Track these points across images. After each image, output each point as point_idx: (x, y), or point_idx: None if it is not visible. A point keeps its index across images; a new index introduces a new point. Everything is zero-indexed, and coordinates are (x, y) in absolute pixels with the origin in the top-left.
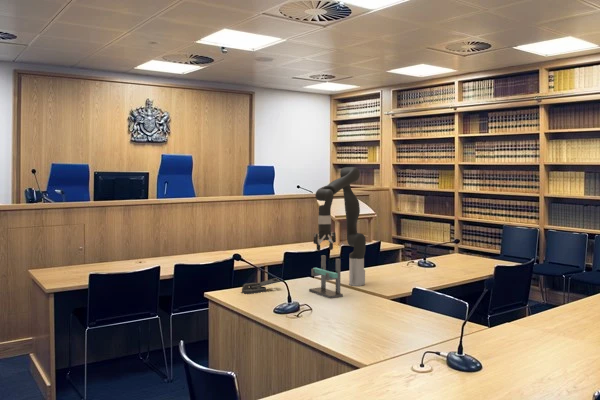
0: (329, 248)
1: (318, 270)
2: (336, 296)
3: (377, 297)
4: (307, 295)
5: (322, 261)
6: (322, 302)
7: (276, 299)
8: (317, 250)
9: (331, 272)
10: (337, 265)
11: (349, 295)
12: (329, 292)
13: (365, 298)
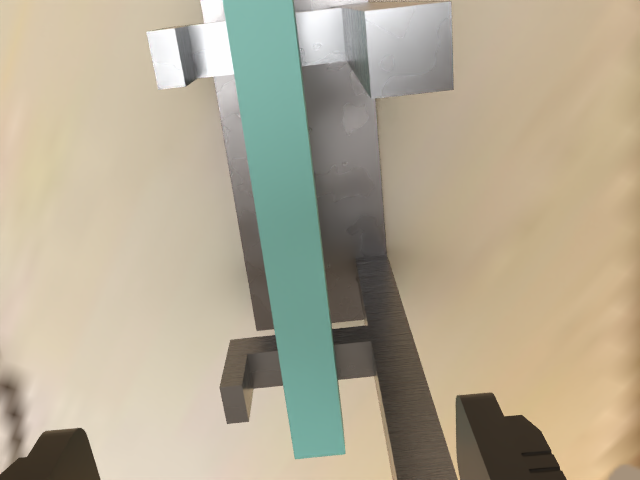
0: (464, 413)
1: (242, 116)
2: None
3: (607, 422)
4: (117, 137)
5: (358, 60)
6: (150, 391)
7: None
8: (46, 439)
9: (308, 380)
10: (391, 468)
11: (463, 290)
12: None
13: (509, 413)
